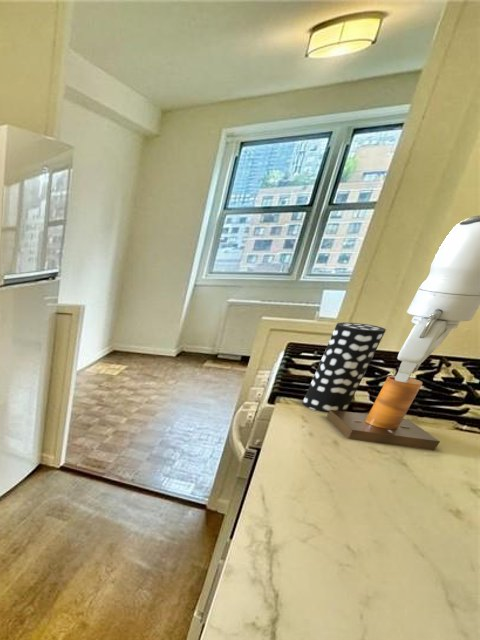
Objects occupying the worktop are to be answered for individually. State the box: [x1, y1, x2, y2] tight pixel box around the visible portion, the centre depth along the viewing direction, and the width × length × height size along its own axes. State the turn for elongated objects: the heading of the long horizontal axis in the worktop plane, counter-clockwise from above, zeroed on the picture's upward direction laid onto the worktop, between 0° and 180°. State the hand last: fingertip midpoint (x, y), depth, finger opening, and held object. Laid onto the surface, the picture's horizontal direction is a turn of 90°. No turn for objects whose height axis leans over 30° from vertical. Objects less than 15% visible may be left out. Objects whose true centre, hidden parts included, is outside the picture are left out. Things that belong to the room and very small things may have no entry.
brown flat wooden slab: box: [326, 410, 441, 451], centre depth 104 cm, size 14×12×3 cm
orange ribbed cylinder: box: [365, 375, 423, 429], centre depth 101 cm, size 5×5×10 cm
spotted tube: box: [302, 322, 387, 414], centre depth 113 cm, size 8×8×20 cm
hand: (404, 376), depth 99 cm, fingers open, 8 cm apart
